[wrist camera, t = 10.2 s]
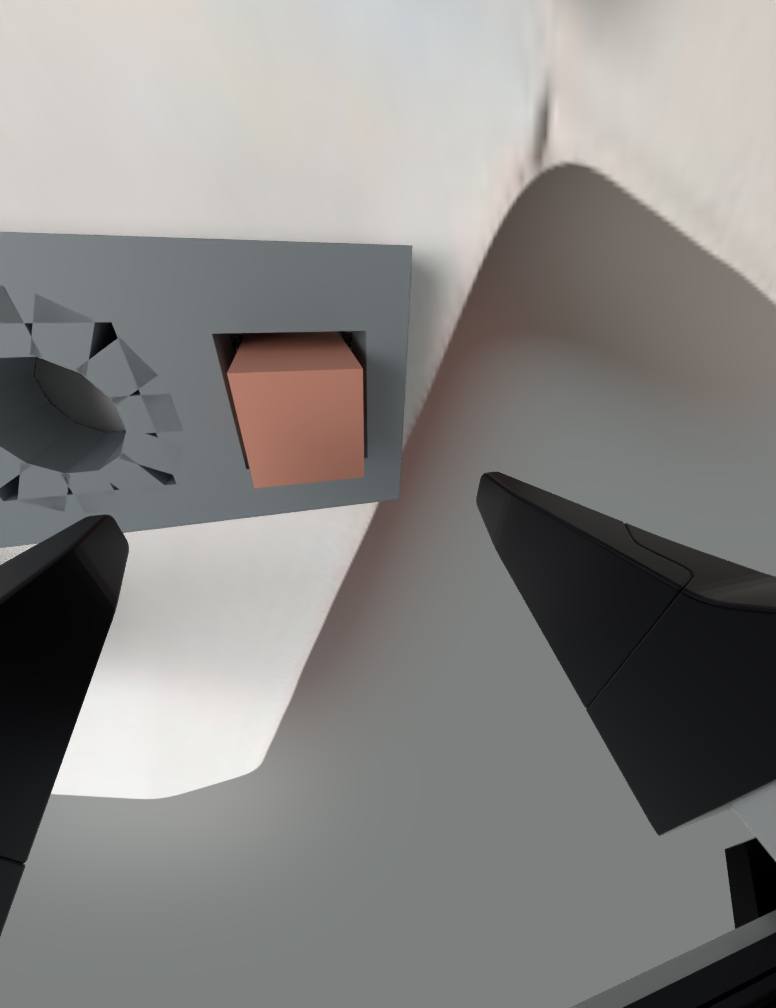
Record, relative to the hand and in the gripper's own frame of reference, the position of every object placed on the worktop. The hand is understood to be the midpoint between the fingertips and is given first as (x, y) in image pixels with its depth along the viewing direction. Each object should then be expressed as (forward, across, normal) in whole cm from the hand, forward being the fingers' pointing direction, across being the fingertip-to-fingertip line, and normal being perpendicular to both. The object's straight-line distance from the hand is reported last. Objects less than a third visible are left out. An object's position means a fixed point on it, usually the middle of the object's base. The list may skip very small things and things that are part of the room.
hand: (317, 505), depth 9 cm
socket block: (+11, +5, 0) cm, 12 cm away
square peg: (+12, 0, 0) cm, 12 cm away
